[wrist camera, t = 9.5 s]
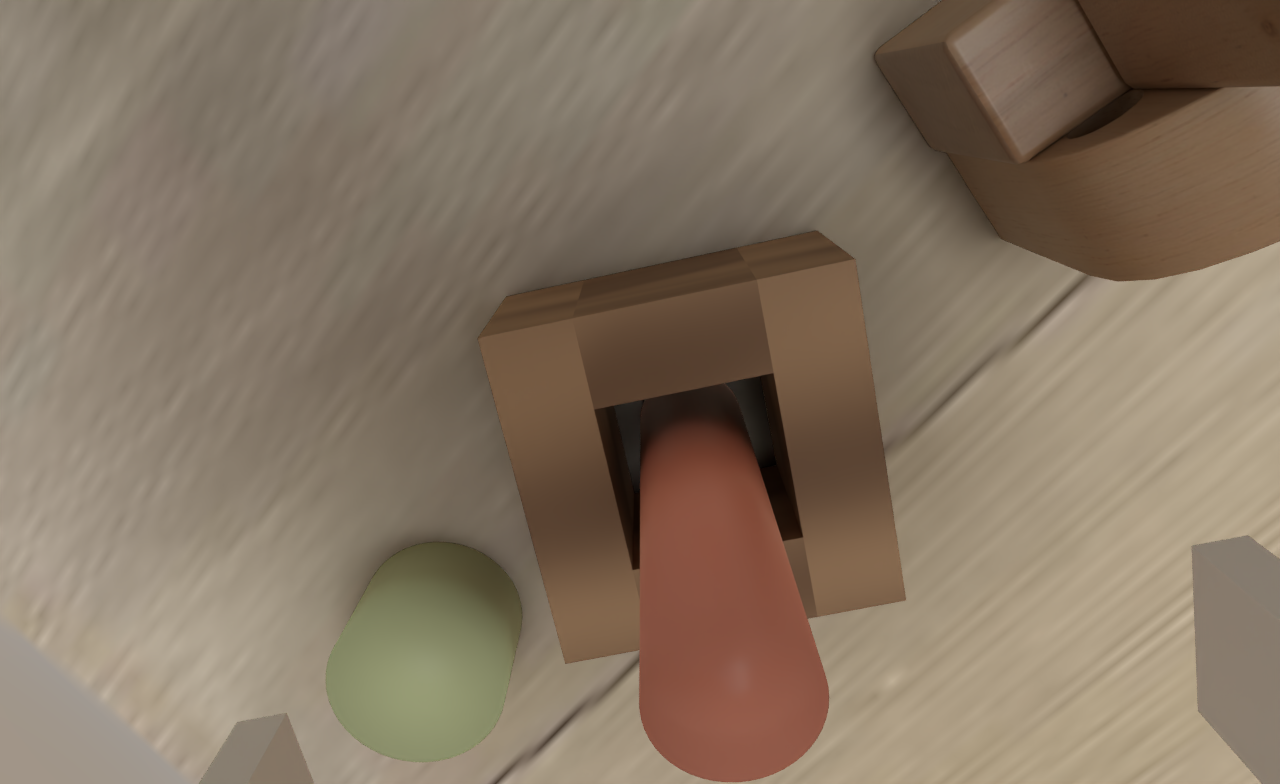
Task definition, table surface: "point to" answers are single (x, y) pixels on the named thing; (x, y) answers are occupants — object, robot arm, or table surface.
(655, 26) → the table surface
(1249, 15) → the wooden toy
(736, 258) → the square wooden frame
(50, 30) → the table surface
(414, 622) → the olive green rounded piece
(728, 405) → the pink capsule rod
